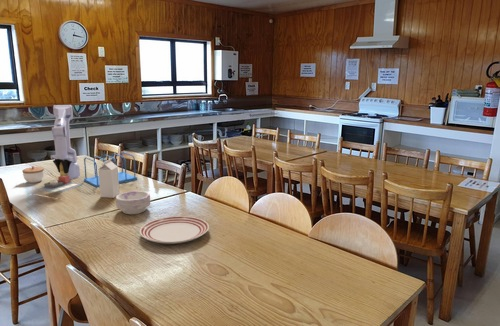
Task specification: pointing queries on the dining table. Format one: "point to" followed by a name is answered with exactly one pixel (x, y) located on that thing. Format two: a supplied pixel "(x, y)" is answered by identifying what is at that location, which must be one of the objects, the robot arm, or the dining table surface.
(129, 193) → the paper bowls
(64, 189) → the board
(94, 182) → the file sorter
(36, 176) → the lidded jar
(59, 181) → the dome housing
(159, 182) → the dining table surface
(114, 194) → the milk carton
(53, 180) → the dome
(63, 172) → the tan rounded peg
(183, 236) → the dinner plate
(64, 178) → the die
